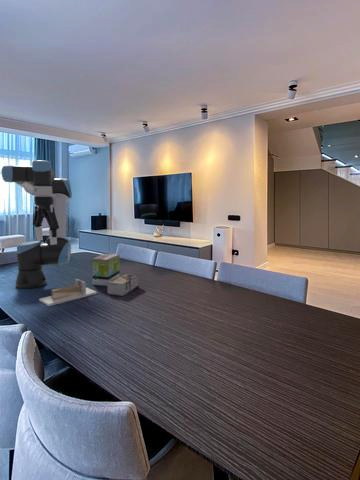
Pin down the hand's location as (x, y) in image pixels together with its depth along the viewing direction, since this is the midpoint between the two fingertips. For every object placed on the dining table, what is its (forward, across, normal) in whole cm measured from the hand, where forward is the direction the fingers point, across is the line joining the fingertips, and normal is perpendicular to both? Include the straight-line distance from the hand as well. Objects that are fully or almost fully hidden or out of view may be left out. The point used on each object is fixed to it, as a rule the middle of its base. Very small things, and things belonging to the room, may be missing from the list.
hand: (46, 242), depth 140 cm
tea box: (+28, -2, +34) cm, 44 cm away
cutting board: (+27, +6, +6) cm, 28 cm away
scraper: (+26, +6, +5) cm, 27 cm away
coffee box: (+24, +20, +22) cm, 38 cm away
